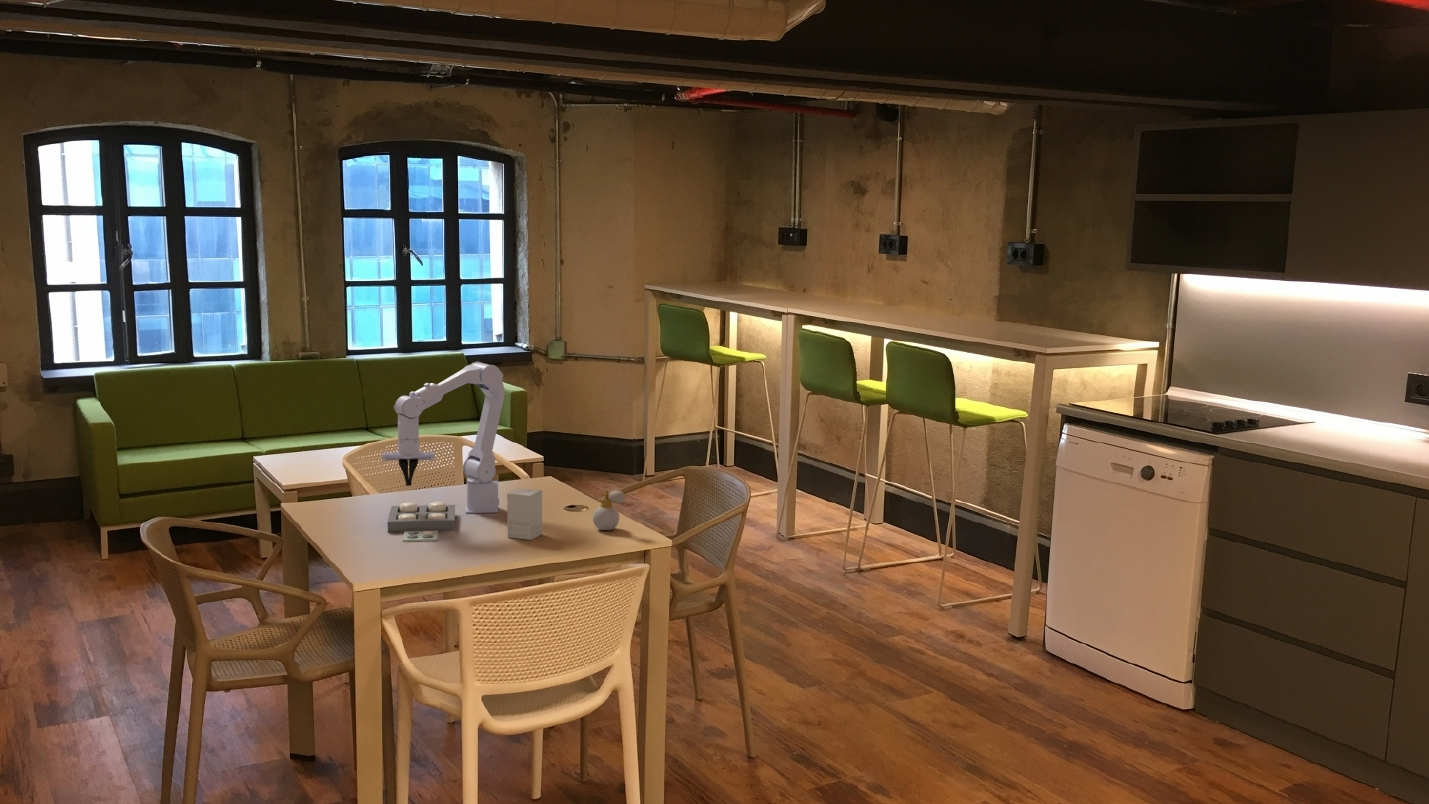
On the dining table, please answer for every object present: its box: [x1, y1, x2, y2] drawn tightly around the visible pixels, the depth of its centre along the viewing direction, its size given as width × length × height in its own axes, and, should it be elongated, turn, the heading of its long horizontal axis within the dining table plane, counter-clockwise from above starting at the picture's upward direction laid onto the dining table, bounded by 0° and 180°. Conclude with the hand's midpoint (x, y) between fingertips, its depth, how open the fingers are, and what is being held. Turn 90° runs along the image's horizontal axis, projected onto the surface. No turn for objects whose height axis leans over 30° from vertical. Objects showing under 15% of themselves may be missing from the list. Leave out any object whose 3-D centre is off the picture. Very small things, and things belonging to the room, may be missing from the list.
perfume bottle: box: [592, 489, 626, 531], centre depth 332 cm, size 8×10×12 cm
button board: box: [387, 504, 456, 533], centre depth 334 cm, size 18×18×3 cm
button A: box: [398, 514, 416, 520], centre depth 329 cm, size 5×5×3 cm
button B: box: [428, 513, 445, 519], centre depth 331 cm, size 5×5×3 cm
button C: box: [399, 502, 418, 513], centre depth 336 cm, size 5×5×3 cm
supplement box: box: [506, 487, 543, 541], centre depth 323 cm, size 7×7×13 cm
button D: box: [428, 501, 447, 512], centre depth 338 cm, size 5×5×3 cm
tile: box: [402, 530, 439, 543], centre depth 320 cm, size 9×9×1 cm
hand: (408, 485), depth 335 cm, fingers closed
